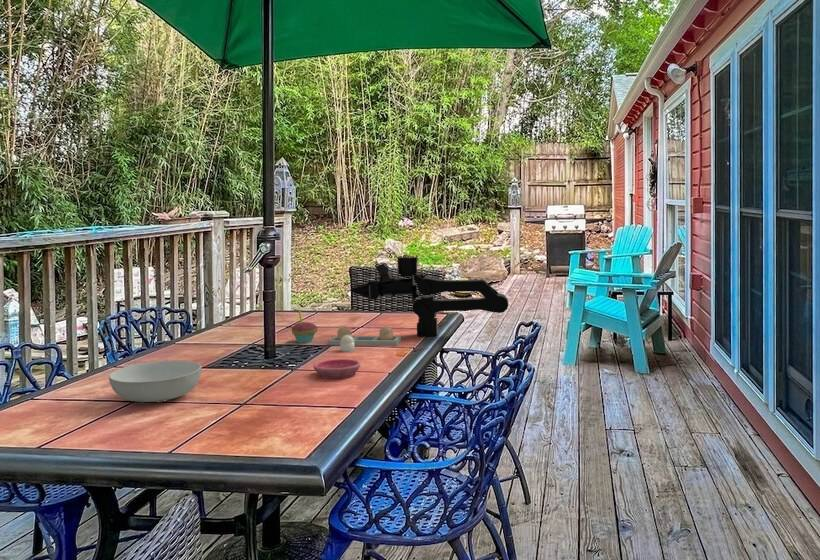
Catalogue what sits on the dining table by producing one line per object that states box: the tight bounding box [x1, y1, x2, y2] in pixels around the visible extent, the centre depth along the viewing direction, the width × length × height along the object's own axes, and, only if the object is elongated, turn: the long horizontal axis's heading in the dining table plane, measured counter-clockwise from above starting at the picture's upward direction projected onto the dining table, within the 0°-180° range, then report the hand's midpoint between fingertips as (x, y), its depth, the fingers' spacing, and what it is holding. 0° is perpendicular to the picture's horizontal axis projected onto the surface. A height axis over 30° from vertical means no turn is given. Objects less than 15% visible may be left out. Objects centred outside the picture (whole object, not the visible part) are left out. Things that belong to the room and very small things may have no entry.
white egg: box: [339, 335, 356, 353], centre depth 211 cm, size 4×4×5 cm
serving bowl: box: [108, 360, 202, 403], centre depth 164 cm, size 21×21×7 cm
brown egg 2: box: [378, 325, 394, 340], centre depth 221 cm, size 4×4×5 cm
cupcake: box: [290, 307, 318, 344], centre depth 227 cm, size 9×8×12 cm
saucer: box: [313, 358, 361, 380], centre depth 183 cm, size 12×12×3 cm
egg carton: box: [327, 335, 402, 347], centre depth 222 cm, size 22×8×2 cm, turn 81°
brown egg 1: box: [336, 326, 352, 340], centre depth 223 cm, size 4×4×5 cm
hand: (354, 288), depth 235 cm, fingers open, 9 cm apart
